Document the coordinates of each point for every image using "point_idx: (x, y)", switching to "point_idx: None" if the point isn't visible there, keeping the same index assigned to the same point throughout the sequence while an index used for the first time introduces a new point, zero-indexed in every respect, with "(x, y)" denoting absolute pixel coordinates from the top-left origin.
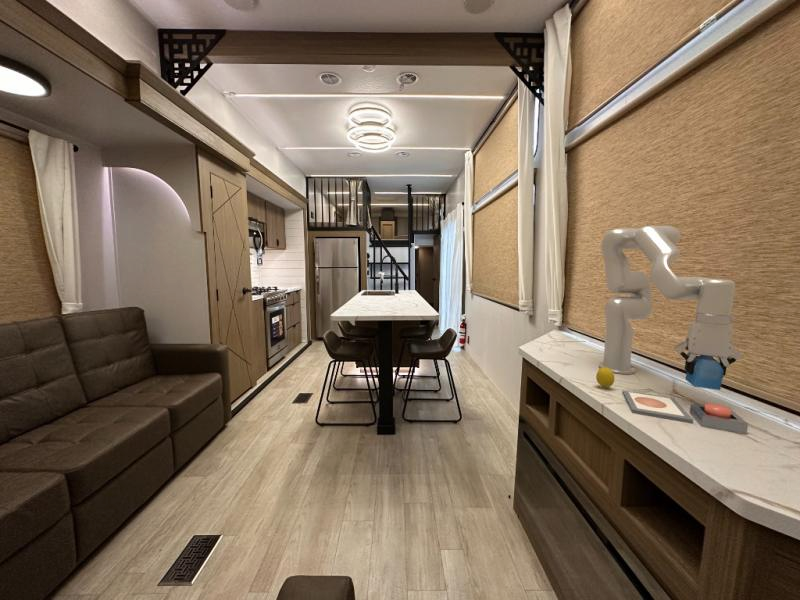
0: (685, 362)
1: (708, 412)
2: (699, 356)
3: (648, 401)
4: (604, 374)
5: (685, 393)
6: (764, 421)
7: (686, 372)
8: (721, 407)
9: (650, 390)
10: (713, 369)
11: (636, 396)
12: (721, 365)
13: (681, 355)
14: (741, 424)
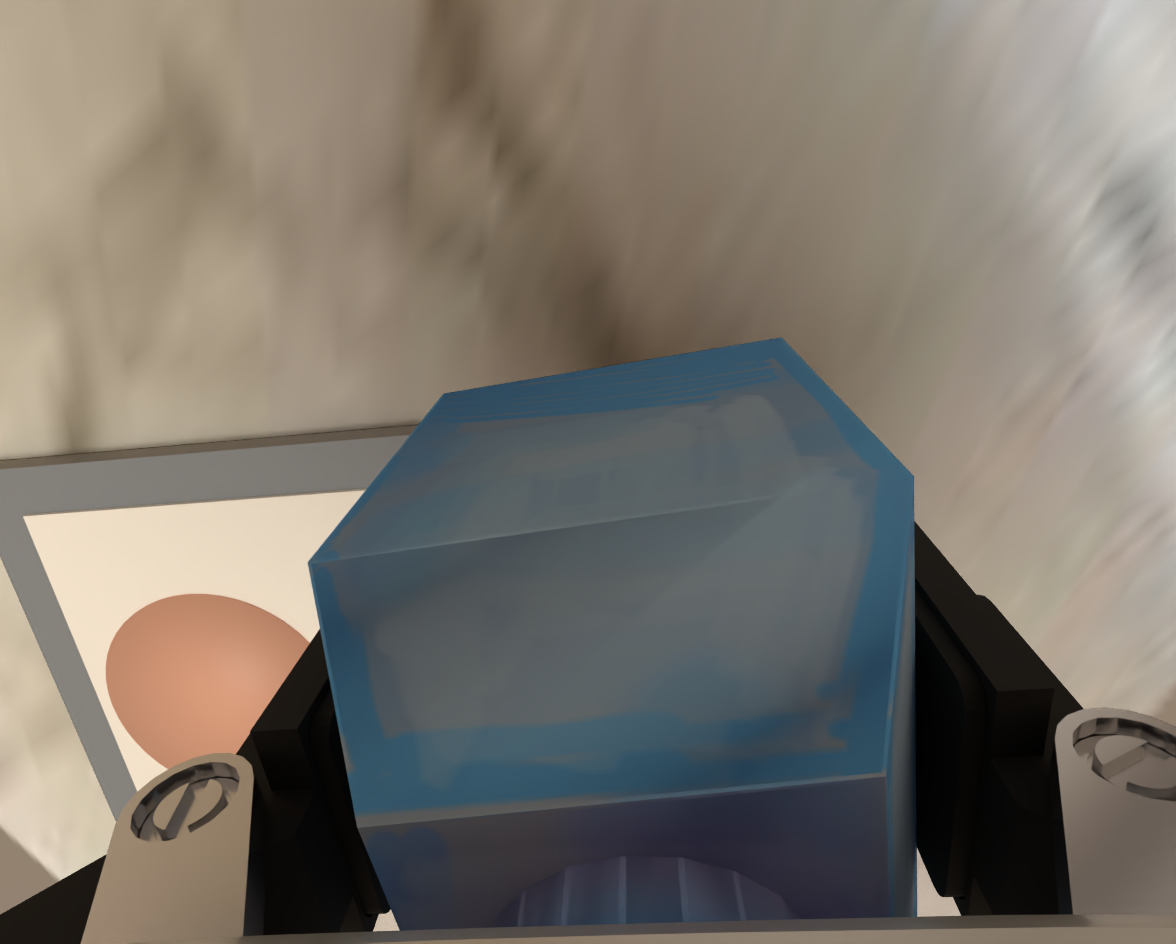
0: (249, 742)
1: None
2: (480, 876)
3: (210, 692)
4: None
5: (569, 8)
6: (1069, 561)
7: (408, 437)
8: None
9: (199, 165)
10: None
11: (108, 608)
12: (973, 880)
13: (6, 941)
14: None
